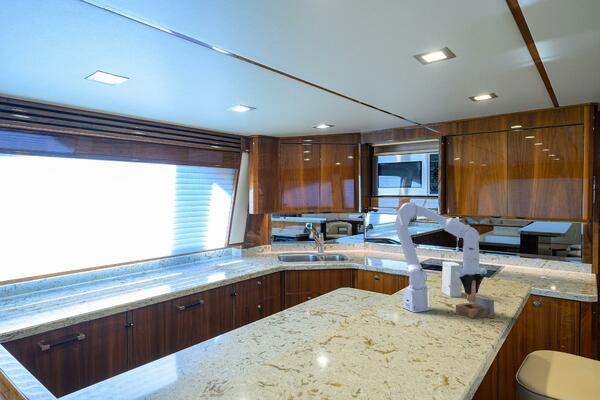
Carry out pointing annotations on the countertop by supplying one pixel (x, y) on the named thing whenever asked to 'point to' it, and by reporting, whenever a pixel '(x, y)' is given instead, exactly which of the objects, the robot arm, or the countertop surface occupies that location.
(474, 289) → the dowel
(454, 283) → the skincare box
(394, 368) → the countertop surface
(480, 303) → the backstop wall
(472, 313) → the block
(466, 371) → the countertop surface
